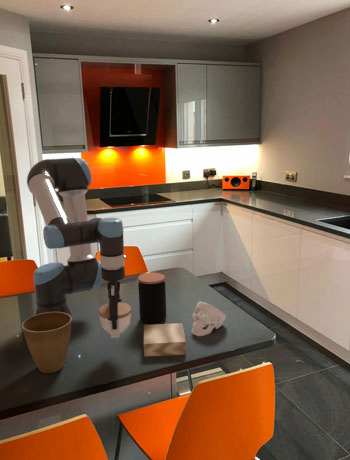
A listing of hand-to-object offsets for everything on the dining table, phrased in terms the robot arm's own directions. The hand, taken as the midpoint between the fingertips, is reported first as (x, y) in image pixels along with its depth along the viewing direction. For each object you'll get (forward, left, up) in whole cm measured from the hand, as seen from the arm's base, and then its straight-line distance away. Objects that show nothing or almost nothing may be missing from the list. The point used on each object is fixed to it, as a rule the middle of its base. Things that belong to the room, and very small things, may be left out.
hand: (116, 328), depth 135 cm
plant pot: (-21, -5, -9) cm, 23 cm away
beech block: (+16, +4, -10) cm, 19 cm away
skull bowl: (+33, +14, -9) cm, 37 cm away
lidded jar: (0, 0, -1) cm, 1 cm away
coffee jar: (+13, +25, -9) cm, 29 cm away
